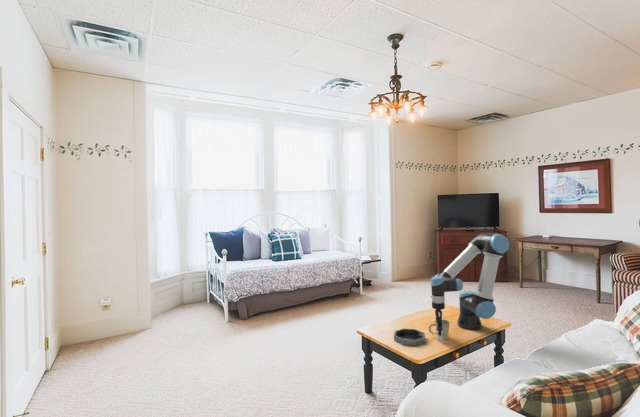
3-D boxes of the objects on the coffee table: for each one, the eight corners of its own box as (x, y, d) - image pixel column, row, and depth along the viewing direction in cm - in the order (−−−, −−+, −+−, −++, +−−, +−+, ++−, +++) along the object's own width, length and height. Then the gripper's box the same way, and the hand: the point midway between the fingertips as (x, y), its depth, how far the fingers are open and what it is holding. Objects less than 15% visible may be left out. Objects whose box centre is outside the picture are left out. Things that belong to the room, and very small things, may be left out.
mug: (451, 340, 204) (450, 324, 204) (429, 339, 207) (429, 323, 206) (448, 335, 212) (448, 319, 212) (428, 334, 215) (427, 319, 215)
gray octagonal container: (424, 334, 215) (424, 329, 215) (425, 346, 197) (425, 341, 197) (395, 332, 220) (395, 327, 220) (393, 344, 202) (393, 339, 202)
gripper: (430, 296, 221) (432, 328, 222) (432, 307, 199) (434, 343, 199) (442, 296, 219) (444, 329, 220) (446, 308, 197) (447, 344, 197)
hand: (439, 336), depth 209 cm, fingers open, 11 cm apart
